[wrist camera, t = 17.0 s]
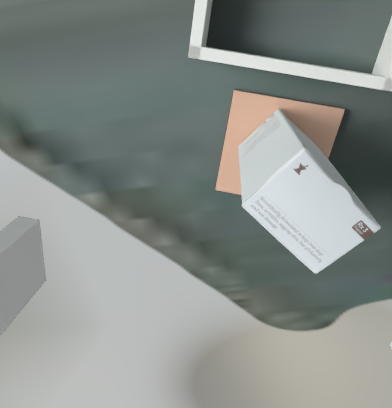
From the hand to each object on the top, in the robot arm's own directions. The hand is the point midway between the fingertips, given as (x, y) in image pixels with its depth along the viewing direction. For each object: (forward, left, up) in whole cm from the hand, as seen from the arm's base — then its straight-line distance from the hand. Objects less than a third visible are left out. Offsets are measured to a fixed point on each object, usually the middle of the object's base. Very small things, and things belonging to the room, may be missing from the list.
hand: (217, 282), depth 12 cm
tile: (+2, +5, -27) cm, 27 cm away
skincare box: (+2, +6, -27) cm, 27 cm away
